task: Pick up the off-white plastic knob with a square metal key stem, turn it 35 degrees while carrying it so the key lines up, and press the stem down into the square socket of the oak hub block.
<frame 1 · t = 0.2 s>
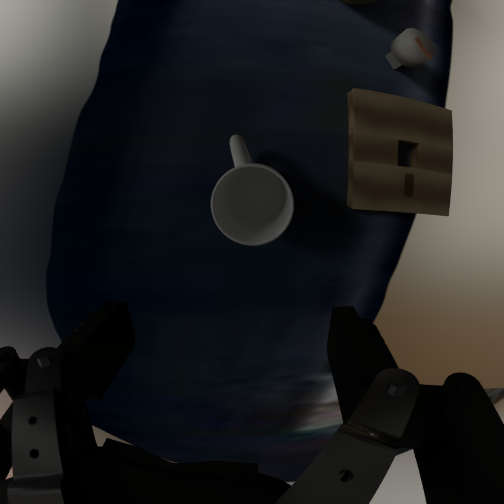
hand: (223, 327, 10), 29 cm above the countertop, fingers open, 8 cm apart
knob: (394, 60, 29), on the countertop
hub: (399, 154, 34), on the countertop
mug: (253, 180, 37), on the countertop
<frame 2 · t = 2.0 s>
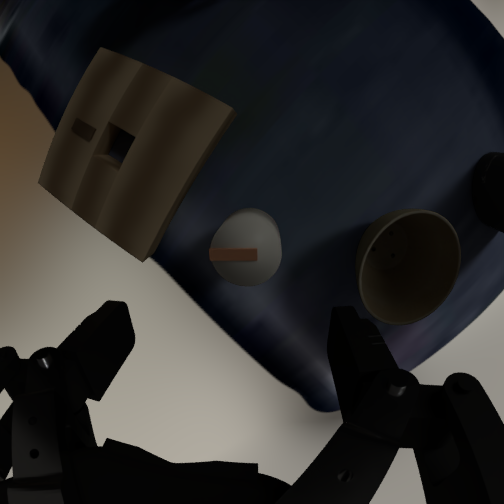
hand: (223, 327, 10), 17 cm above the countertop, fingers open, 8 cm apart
knob: (253, 226, 26), on the countertop
hub: (127, 146, 24), on the countertop
yellowish brown bowl: (383, 245, 26), on the countertop
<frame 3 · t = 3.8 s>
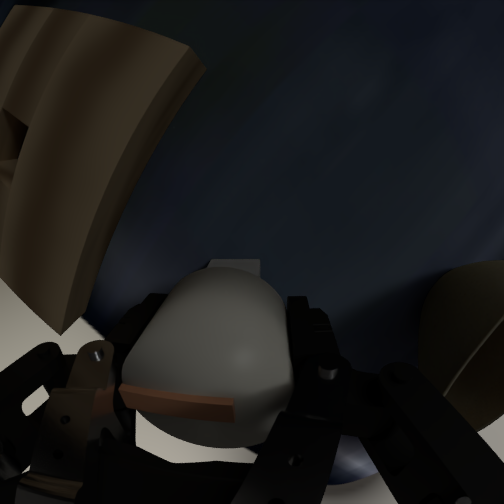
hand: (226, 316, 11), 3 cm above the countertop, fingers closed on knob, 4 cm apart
knob: (236, 281, 14), on the countertop, touching gripper
hub: (38, 144, 12), on the countertop
yellowish brown bowl: (449, 303, 14), on the countertop
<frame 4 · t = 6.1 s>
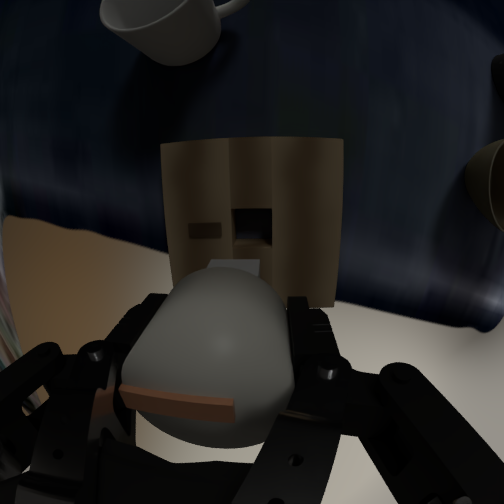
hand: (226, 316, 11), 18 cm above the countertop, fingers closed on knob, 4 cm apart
knob: (236, 281, 14), point 14 cm above the countertop, touching gripper
hub: (253, 221, 27), on the countertop
mug: (201, 30, 21), on the countertop
yellowish brown bowl: (476, 178, 24), on the countertop
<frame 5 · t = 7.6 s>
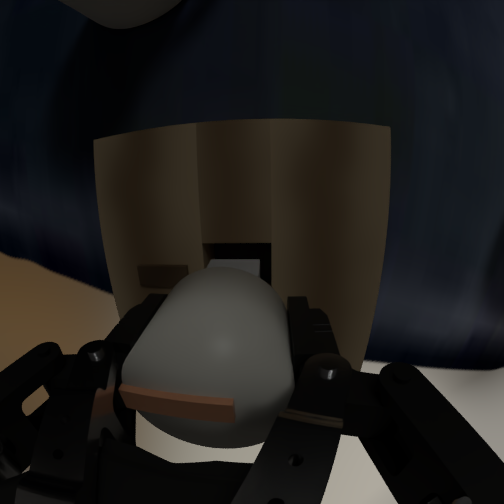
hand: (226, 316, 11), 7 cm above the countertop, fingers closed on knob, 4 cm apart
knob: (236, 281, 14), point 4 cm above the countertop, touching gripper
hub: (242, 256, 18), on the countertop
when the fingers open (4 cm above the countertop, at t = 8.6 s): knob stays where it is, resting in hub.
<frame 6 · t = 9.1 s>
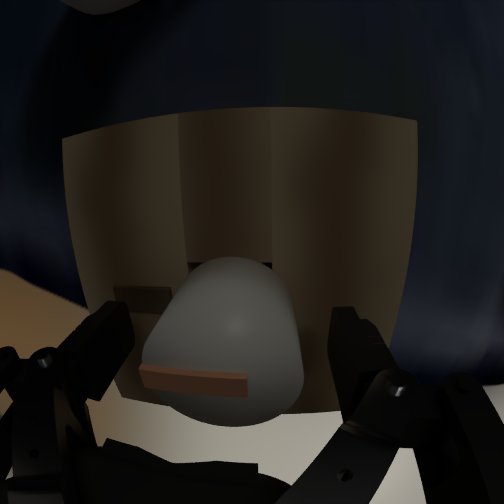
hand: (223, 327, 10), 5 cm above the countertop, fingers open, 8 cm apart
knob: (242, 273, 15), resting in hub
hub: (238, 273, 15), on the countertop
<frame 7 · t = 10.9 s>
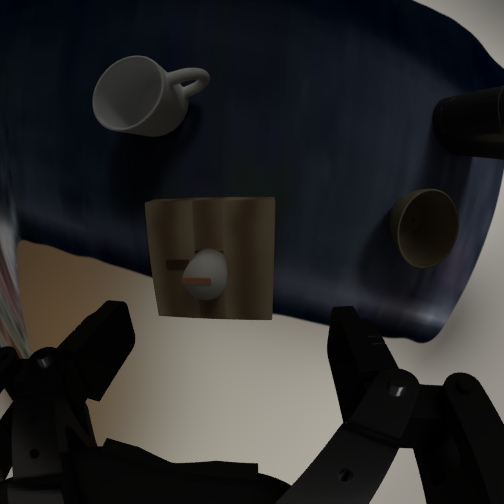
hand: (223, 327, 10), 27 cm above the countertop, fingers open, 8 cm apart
knob: (215, 256, 38), resting in hub
hub: (213, 256, 38), on the countertop
mug: (173, 102, 31), on the countertop
yellowish brown bowl: (404, 217, 35), on the countertop
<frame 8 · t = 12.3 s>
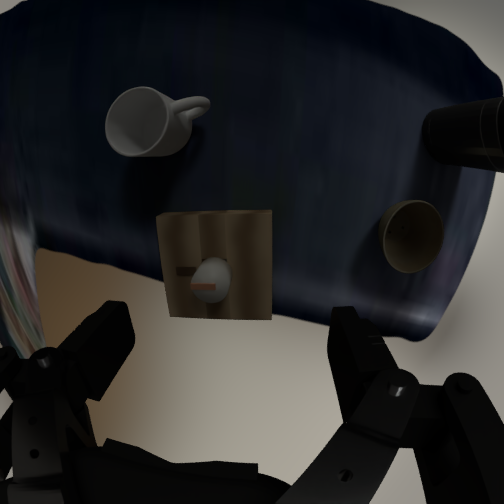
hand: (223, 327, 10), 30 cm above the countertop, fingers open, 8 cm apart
knob: (220, 263, 42), resting in hub
hub: (218, 263, 42), on the countertop
mug: (178, 124, 36), on the countertop
yellowish brown bowl: (394, 225, 38), on the countertop
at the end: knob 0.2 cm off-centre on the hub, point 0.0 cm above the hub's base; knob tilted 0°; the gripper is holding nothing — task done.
